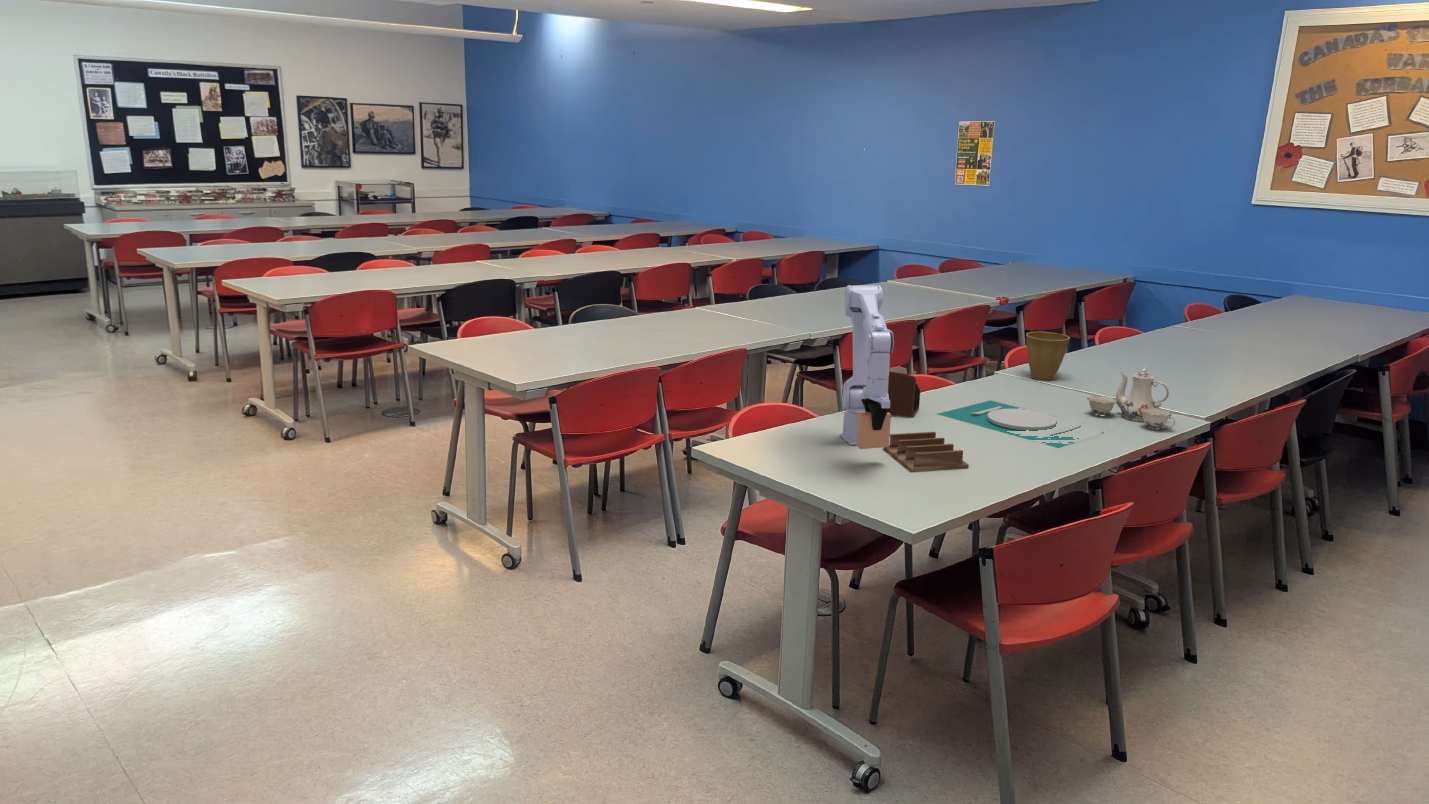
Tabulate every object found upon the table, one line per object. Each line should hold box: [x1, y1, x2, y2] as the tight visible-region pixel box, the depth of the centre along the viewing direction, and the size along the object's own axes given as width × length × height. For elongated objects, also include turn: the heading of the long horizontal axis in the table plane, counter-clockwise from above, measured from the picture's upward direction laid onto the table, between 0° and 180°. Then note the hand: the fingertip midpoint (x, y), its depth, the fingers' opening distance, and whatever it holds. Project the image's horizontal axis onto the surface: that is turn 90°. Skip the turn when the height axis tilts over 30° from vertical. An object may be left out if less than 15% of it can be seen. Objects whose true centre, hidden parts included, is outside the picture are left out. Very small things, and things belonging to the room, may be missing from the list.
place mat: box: [937, 400, 1081, 449], centre depth 280 cm, size 45×30×2 cm
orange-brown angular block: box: [855, 412, 892, 450], centre depth 240 cm, size 3×8×9 cm, turn 101°
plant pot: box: [1025, 331, 1071, 382], centre depth 333 cm, size 15×15×16 cm
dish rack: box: [882, 431, 970, 473], centre depth 246 cm, size 19×16×4 cm
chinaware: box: [1086, 367, 1176, 431], centre depth 282 cm, size 28×17×17 cm, turn 42°
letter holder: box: [852, 370, 921, 419], centre depth 290 cm, size 10×20×14 cm, turn 67°
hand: (874, 427), depth 239 cm, fingers closed on orange-brown angular block, 3 cm apart
